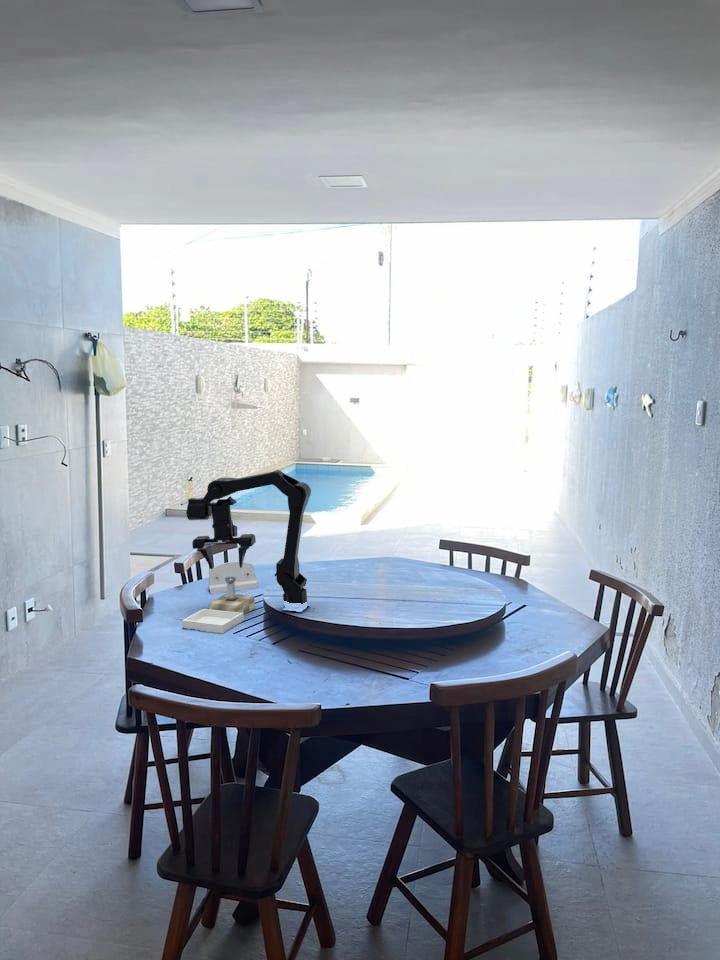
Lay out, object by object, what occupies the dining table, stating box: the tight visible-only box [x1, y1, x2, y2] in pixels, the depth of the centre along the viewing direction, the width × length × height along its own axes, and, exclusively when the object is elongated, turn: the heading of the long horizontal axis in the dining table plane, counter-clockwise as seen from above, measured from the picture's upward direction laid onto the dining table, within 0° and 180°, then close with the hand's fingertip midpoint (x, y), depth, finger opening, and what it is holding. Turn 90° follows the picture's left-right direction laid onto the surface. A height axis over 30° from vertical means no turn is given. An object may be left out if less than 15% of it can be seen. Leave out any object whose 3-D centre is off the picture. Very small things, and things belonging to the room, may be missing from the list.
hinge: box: [207, 561, 258, 595], centre depth 262 cm, size 17×5×10 cm, turn 106°
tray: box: [181, 608, 244, 635], centre depth 226 cm, size 14×11×2 cm
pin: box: [225, 577, 236, 601], centre depth 237 cm, size 3×3×11 cm
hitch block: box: [208, 592, 256, 616], centre depth 237 cm, size 10×10×4 cm
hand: (226, 568), depth 239 cm, fingers open, 9 cm apart
